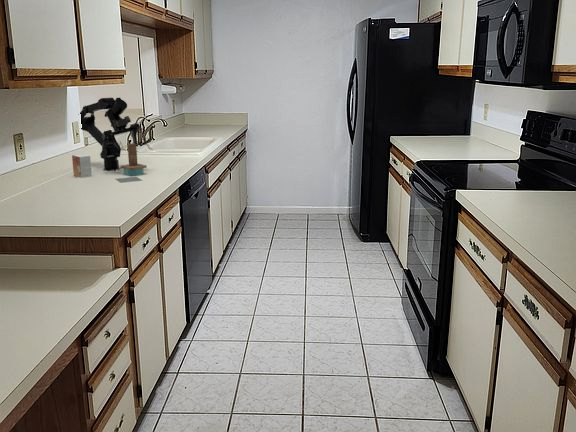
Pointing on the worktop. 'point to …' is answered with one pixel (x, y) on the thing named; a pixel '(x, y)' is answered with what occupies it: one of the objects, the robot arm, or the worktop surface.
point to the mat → (128, 179)
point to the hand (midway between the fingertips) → (128, 146)
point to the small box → (81, 165)
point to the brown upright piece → (132, 159)
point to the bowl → (133, 172)
